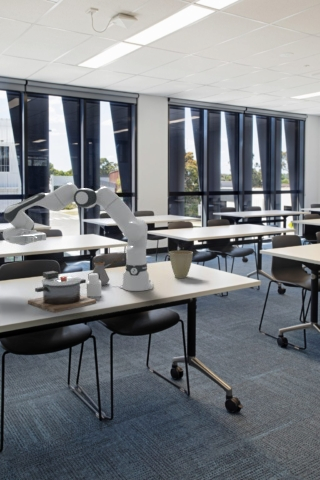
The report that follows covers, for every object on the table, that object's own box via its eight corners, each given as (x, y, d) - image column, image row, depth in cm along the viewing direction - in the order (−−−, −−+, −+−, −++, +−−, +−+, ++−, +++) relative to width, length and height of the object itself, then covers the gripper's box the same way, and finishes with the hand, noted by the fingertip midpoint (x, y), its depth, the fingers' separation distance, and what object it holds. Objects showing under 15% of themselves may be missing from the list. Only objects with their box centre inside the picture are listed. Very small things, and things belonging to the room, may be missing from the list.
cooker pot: (27, 302, 224) (26, 284, 223) (74, 292, 244) (73, 275, 243) (47, 309, 212) (46, 290, 211) (95, 297, 232) (95, 280, 231)
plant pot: (193, 279, 281) (193, 254, 279) (169, 279, 282) (169, 254, 280) (192, 274, 296) (192, 250, 294) (169, 274, 296) (169, 250, 294)
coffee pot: (94, 287, 261) (93, 261, 259) (86, 283, 271) (86, 258, 269) (127, 283, 272) (127, 258, 270) (119, 279, 282) (119, 255, 280)
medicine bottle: (88, 293, 247) (87, 271, 246) (101, 293, 248) (101, 271, 246) (87, 296, 240) (86, 274, 238) (100, 296, 241) (100, 274, 239)
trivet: (27, 303, 228) (27, 300, 228) (68, 294, 245) (68, 291, 245) (55, 312, 211) (54, 309, 211) (96, 302, 228) (96, 299, 228)
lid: (31, 281, 228) (31, 274, 228) (63, 275, 242) (63, 269, 241) (55, 288, 213) (55, 280, 213) (88, 281, 227) (88, 274, 227)
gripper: (3, 232, 242) (17, 235, 233) (37, 229, 257) (51, 231, 247) (4, 244, 243) (17, 247, 234) (38, 241, 258) (51, 243, 248)
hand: (35, 239), depth 241 cm, fingers closed
